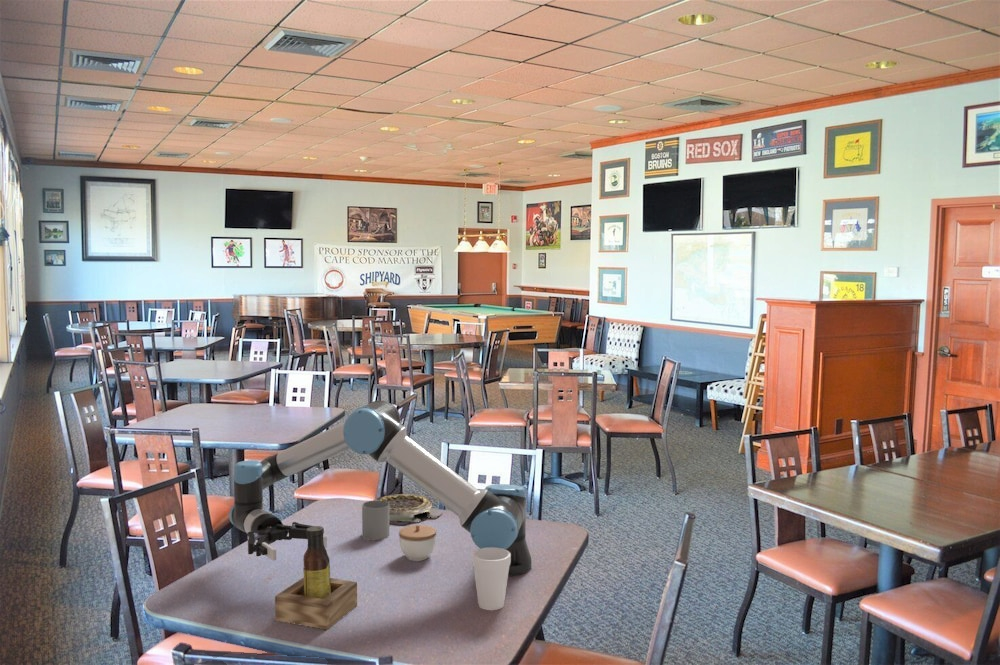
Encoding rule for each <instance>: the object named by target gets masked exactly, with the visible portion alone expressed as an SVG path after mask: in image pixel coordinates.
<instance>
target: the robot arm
mask: <svg viewBox="0 0 1000 665" xmlns="http://www.w3.org/2000/svg"><path fill="white" fill-rule="evenodd" d="M401 420H402V419H401V414H400V412H399V410H398V409H397V408H396V406H395V405H394V404H392V403H390V402H388V401H385V400H375V401H372V402H369V403H368V404H366V405H363V406H361V407H358V408H356V409H354V411H353V412H352V413H350V415H348V416H347V417H346V420H345V421H344V422H342V423H340V424H338V425H336V426H334V427H331V428H329V429H327V430H325V431H323V432H321V433H318V434H316V435H315V436H312V437H310V438H308V439H306V440H303V441H301V442H299V443H297V444H294V445H292V446H290V447H288V448H286V449H283V450H281V451H279V452H277V453H275V454H273V455H270V456H268V457H266V458H264V459H262V460H261V461H259V460H257V459H254V460H253V459H248V460H243V461H242V460H241V461H238V462H237V463H235V464H234V468H233V492H234V493H233V495H234V496H233V499H234V502H233V503H234V504H233V505H232V506H231V508H230V509H229V510H230V511H229V513H228V517H229V521H230V523H231V524H232V525H233V526H234V527H235V528H236V529H238V530H239V531H242V532H244V533H245V534H246V535H247V554H248V555H253V554H254V553H255V557H261V556H265V557H266V558H268V559H269V560H272V562H273V561H274V562H275V561H277V549H276V548H275V547H273V546H271V544H274V543H275V542H277V541H283V540H285V541H291V540H292V539H297V540H298V539H300V540H308V536H307V528H309V527H313V526H314V525H312V524H311V525H310V524H304V523H299V522H296V521H293V522H291V525H287V524H283V522H282V521H281V519H280V517H278V516H276V515H273V514H272V513H271V512H268V511H267V510H265V509H263V507H264V505H263V504H264V503H263V501H264V500H263V498H264V495H263V493H264V490H265V489H266V488H269V487H270V486H271V485H274V484H275V483H277V482H280V481H282V480H284V479H287V478H288V477H290V476H292V475H294V474H296V473H299V472H301V471H304V470H306V469H308V468H311V467H312V466H315V465H317V464H319V463H322V462H324V461H326V460H328V459H330V458H333V457H335V456H337V455H339V454H341V453H344V452H347V451H348V450H351V451H353V452H354V453H356V454H359V455H366V456H367V455H368V456H369V457H371V458H372V459H373V460H375V461H376V462H377V463H388V464H390V465H391V466H392V467H393V468H394V469H396V470H397V471H399V472H400V473H402V474H403V475H404V476H405V477H406V478H407V479H408V480H410V481H412V482H413V483H414V484H415V485H417V486H418V487H419V488H421V489H422V490H424V491H425V492H426V493H427V494H429V495H430V496H431V497H432V498H434V499H435V500H437V501H438V502H439V503H440V504H442V505H443V506H444V507H446V508H447V509H448V510H450V511H451V513H453V514H455V515H456V516H457V517H458V519H459V525H460V526H461V527H462V528H463V529H465V530H466V531H467V532H468V533H469V534H470V537H471V539H472V541H473V544H474V545H475V546H476V547H477V548H478V549H481V548H486V547H496V548H502V549H505V550H508V551H509V552H510V553H511V563H510V566H509V572H508V577H512V576H518V575H520V576H521V575H523V574H525V573H527V572H529V571H530V570H531V569H532V556H531V553H530V550H529V547H528V543H527V538H526V530H527V528H526V527H527V526H526V525H527V524H526V522H527V518H526V517H527V516H526V514H527V513H526V510H527V507H526V506H527V499H528V498H527V492H526V489H525V488H524V487H523V486H521V485H518V484H508V483H507V484H503V483H500V484H489V485H486V486H485V488H484V489H481V490H480V489H478V488H476V487H475V486H474V485H473V484H471V483H470V482H469V481H467V480H466V479H464V478H463V477H462V476H461V475H459V474H458V473H457V472H455V471H454V470H452V468H450V467H449V466H447V465H446V464H444V462H442V461H441V460H440V459H438V458H437V457H436V456H434V455H433V454H432V453H431V452H429V451H427V450H426V449H425V448H424V447H422V446H421V445H420V444H418V443H417V442H416V441H414V439H412V438H410V437H409V436H408V432H407V428H406V427H405V426H404V425H403V424H402V423H401V422H402V421H401ZM327 540H328V539H327V536H326V535H324V534H323V542H324V547H325V549H327V547H328V546H327V545H328V544H327Z"/></svg>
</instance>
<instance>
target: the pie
mask: <svg viewBox="0 0 1000 665" xmlns="http://www.w3.org/2000/svg"><path fill="white" fill-rule="evenodd" d="M374 500H381V501H386V502H388V503H389V525H392V523H390V522H393V521H402V522H408V524H410V523H412V522H416V523H419V522H418V521H420V522H421V521H422V520H421V518H418V517H415V515H419V514H423V513H425V512H426V513H427V514H426V515H425V516H426V518H427V517H428V518H427V519H437V518H439V516H440V517H441V516H442V515H443V512H441V513H440V514H441V515H440V514H439V515H431V513H430V512H431V509H432V508H433V503H432V501H431V498H429V497H427V496H426V495H422V494H411V493H410V494H406V493H402V494H401V493H399V494H397V493H396V494H389V495H384V496H379V497H377V498H374V499H373V500H372V501H374ZM430 517H431V518H430ZM406 524H407V523H406ZM406 524H403V526H406Z"/></svg>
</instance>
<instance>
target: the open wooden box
mask: <svg viewBox="0 0 1000 665" xmlns="http://www.w3.org/2000/svg"><path fill="white" fill-rule="evenodd" d="M330 585H331V594H329V595H328V596H327V597H325V598H324V599H319V598H313V597H307V596H305V595H304V577H302V578H301V579H299V580H298V581H296V582H294V583H293V584H292V585H290V586H288V587H287V588H285V589H283V590H282V591H281V592H279V593H278V594H276V595H275V596H274V612H275V613H274V615H275V618H274V619H275V620H276V621H275V622H279V621H283V622H282V623H285V622H289V623H288V624H290V623H295V624H294V625H296V624H301V625H306V626H305V627H307V626H310V627H309V628H312V627H316V628H315V629H318V628H320V630H323V629H326V630H325V631H328V630H330V629H331V627H333V626H334V625H335V624H336V623H338V622H339V621H340V620H341V619H343V618H344V617H345V616H347V615H348V614H349V613H350V612H351V611H352V609H353V608H354V607H355V606H356V607H357V606H358V582H357V581H352V580H344V579H340V578H333V577H332V578H331V577H330ZM356 607H355V608H356ZM355 608H354V609H355ZM354 609H353V610H354ZM349 611H350V612H349ZM348 612H349V613H348ZM347 613H348V614H347ZM343 616H344V617H343ZM342 617H343V618H342ZM338 620H339V621H338ZM337 621H338V622H337ZM301 625H300V626H301ZM332 625H333V626H332ZM327 629H328V630H327Z"/></svg>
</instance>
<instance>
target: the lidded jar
mask: <svg viewBox="0 0 1000 665" xmlns="http://www.w3.org/2000/svg"><path fill="white" fill-rule="evenodd" d="M398 537H399V546H400V547H399V548H400V550H401V552H402V554H403V555H405V557H406V559H407V560H409V561H413V562H415V561H416V562H418V561H419V562H420V560H421V561H425V560H427V559H428V558H429V556H430V555H431V554H432V553H433V552H434V549H435V547H436V539H437V538H436V537H437V530H436V528H434V527H432V526H429V525H425V524H415V525H408V526H405V527H402V528H400V530H399V531H398Z"/></svg>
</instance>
